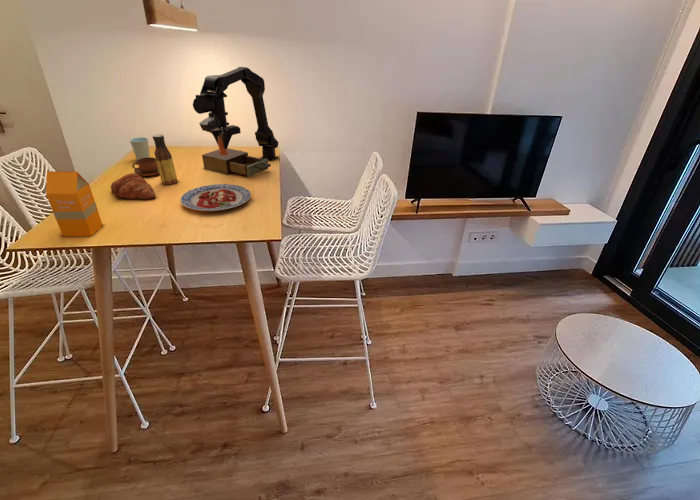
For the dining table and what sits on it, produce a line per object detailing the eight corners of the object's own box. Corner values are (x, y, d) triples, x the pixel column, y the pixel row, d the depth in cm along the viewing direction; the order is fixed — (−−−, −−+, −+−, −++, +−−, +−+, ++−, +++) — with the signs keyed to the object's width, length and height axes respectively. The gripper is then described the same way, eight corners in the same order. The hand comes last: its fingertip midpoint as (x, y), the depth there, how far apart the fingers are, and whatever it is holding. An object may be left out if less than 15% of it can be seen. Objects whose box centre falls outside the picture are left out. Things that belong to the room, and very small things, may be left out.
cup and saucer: (139, 180, 164) (136, 166, 161) (131, 172, 172) (128, 158, 168) (168, 174, 171) (165, 161, 168) (159, 167, 179) (156, 154, 175)
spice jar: (218, 154, 165) (215, 135, 161) (224, 152, 167) (222, 134, 163) (223, 156, 163) (220, 137, 159) (229, 154, 166) (227, 135, 162)
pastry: (159, 185, 160) (154, 166, 155) (155, 199, 147) (150, 179, 143) (113, 188, 155) (108, 169, 151) (106, 203, 142) (99, 183, 138)
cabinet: (249, 165, 185) (247, 152, 181) (227, 174, 174) (225, 160, 170) (226, 160, 190) (224, 147, 187) (204, 168, 179) (201, 154, 176)
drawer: (276, 170, 177) (275, 160, 175) (257, 179, 167) (256, 168, 165) (246, 163, 184) (245, 154, 182) (226, 171, 174) (224, 161, 172)
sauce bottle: (180, 180, 165) (171, 133, 155) (173, 185, 160) (163, 137, 150) (165, 179, 166) (155, 133, 156) (158, 184, 160) (147, 136, 150)
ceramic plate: (179, 193, 153) (178, 186, 152) (244, 185, 162) (244, 179, 161) (183, 220, 133) (181, 212, 132) (257, 210, 142) (256, 202, 141)
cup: (155, 158, 189) (150, 137, 184) (149, 163, 182) (143, 141, 177) (139, 158, 189) (134, 137, 183) (132, 163, 182) (126, 141, 177)
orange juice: (91, 236, 121) (70, 176, 111) (62, 236, 121) (37, 175, 110) (103, 224, 128) (84, 167, 118) (75, 225, 127) (53, 167, 117)
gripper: (186, 109, 155) (193, 147, 163) (216, 116, 146) (222, 156, 154) (209, 105, 163) (214, 142, 171) (239, 112, 154) (243, 150, 162)
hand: (222, 147), depth 164 cm, fingers closed on spice jar, 3 cm apart
